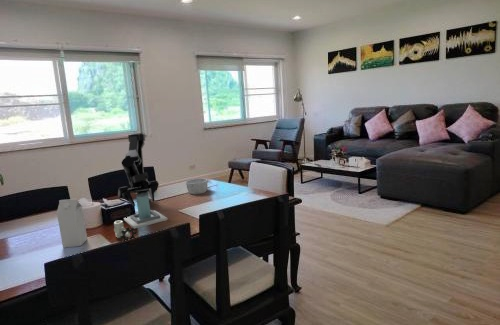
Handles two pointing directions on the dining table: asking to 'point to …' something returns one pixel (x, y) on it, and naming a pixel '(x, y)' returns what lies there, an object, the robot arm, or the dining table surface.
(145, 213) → the cup
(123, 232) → the valve
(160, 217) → the dock
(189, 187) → the ramekin
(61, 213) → the milk carton
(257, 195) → the dining table surface
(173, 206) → the dining table surface
